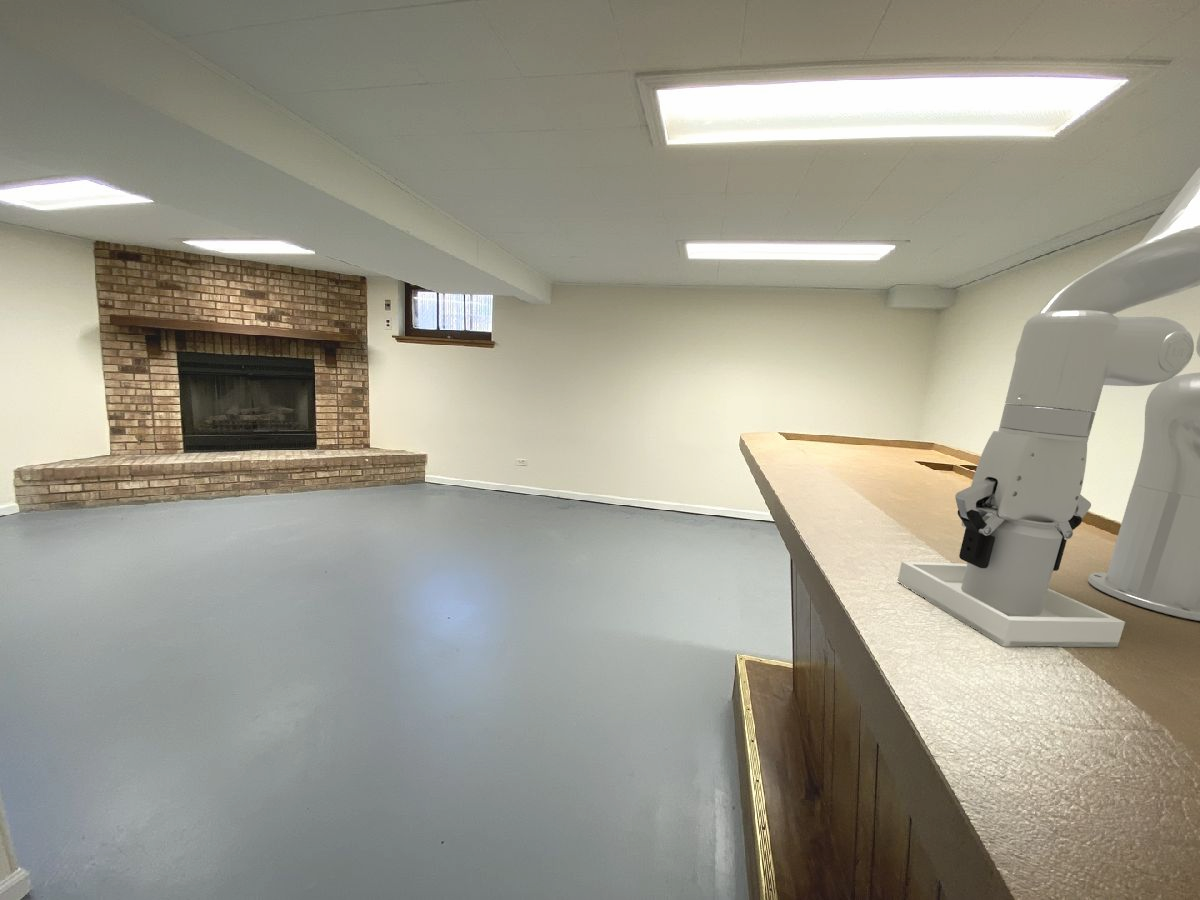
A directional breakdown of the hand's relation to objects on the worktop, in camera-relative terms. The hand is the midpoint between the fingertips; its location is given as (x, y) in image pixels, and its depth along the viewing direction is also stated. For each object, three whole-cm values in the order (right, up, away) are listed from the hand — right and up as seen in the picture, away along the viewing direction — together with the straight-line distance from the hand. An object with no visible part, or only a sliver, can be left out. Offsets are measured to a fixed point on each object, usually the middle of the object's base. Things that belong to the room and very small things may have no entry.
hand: (1007, 564), depth 55 cm
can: (0, -6, +1) cm, 6 cm away
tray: (-1, -6, +1) cm, 6 cm away
